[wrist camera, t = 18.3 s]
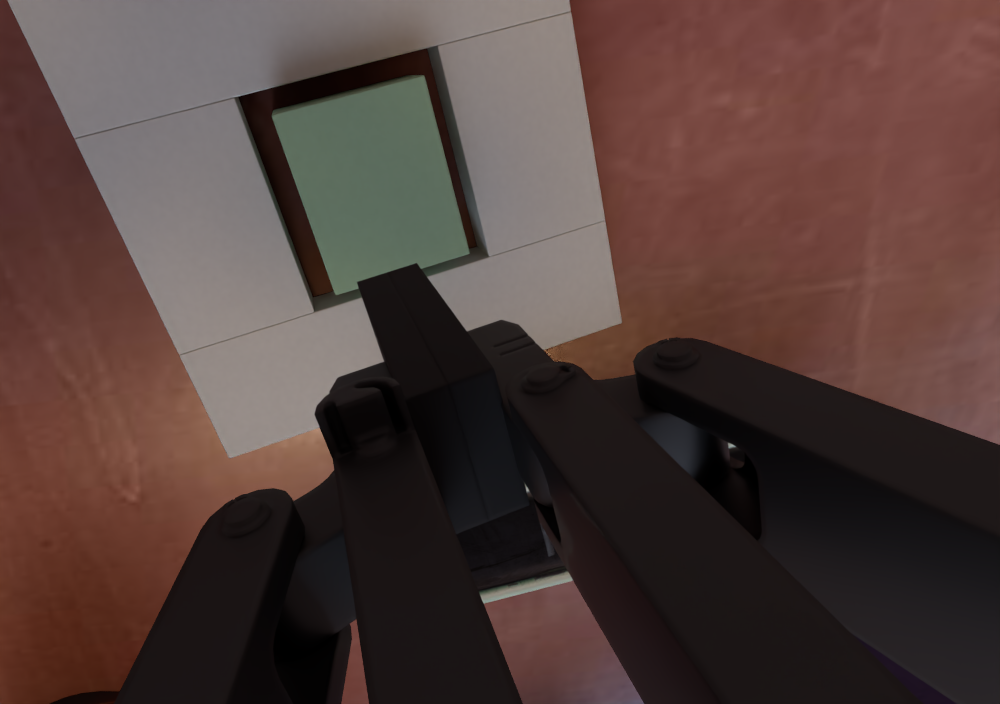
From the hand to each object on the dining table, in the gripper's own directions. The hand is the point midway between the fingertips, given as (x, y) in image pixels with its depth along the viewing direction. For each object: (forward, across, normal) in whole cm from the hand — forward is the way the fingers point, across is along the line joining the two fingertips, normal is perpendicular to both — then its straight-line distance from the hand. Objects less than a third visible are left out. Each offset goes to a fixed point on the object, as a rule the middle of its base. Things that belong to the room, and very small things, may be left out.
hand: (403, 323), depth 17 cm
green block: (+19, +2, +1) cm, 19 cm away
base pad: (+19, +2, 0) cm, 19 cm away
